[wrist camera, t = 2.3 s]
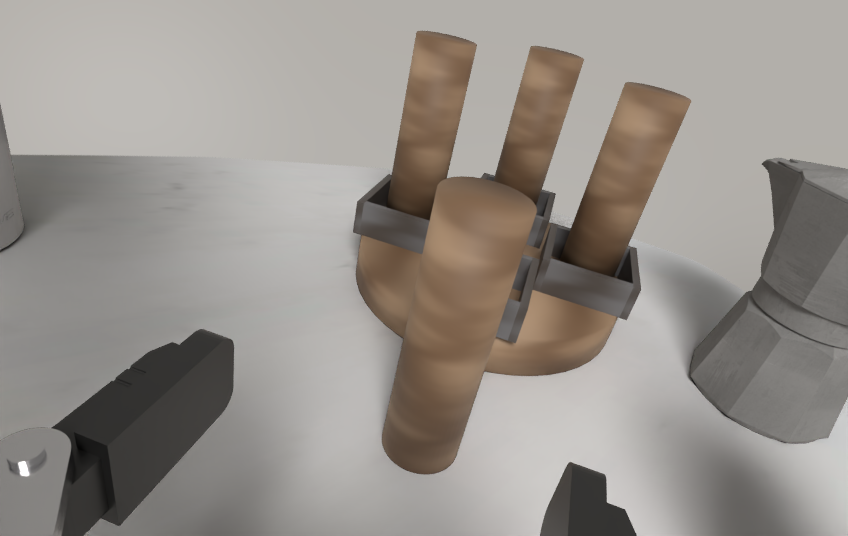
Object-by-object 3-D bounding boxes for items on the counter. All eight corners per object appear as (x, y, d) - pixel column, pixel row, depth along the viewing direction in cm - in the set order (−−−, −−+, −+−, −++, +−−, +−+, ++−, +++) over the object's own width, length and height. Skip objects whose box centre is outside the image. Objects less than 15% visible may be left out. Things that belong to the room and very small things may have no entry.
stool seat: (306, 312, 36) (334, 39, 27) (403, 206, 53) (439, 18, 44) (611, 419, 33) (751, 148, 24) (609, 269, 50) (690, 80, 41)
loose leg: (370, 456, 27) (424, 199, 20) (396, 403, 30) (451, 168, 23) (446, 486, 26) (530, 232, 19) (464, 428, 30) (541, 195, 23)
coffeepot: (636, 356, 39) (764, 105, 30) (697, 323, 45) (820, 104, 35) (878, 528, 29) (1173, 238, 20) (917, 458, 35) (1160, 207, 26)
